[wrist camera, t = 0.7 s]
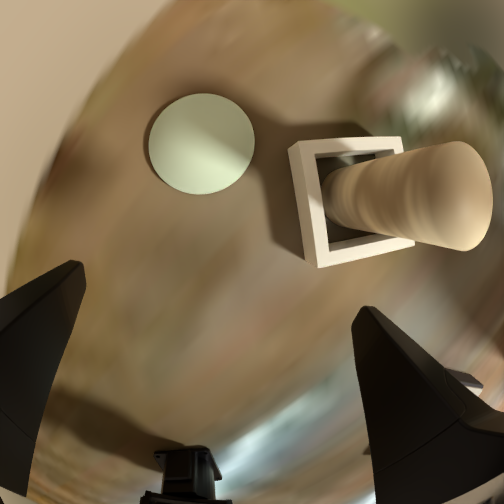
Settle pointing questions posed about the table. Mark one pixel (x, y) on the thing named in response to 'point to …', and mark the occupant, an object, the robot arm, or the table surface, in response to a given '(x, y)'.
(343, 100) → the table surface
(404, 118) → the table surface
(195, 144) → the coaster
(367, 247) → the pocket
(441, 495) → the robot arm
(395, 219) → the peg
